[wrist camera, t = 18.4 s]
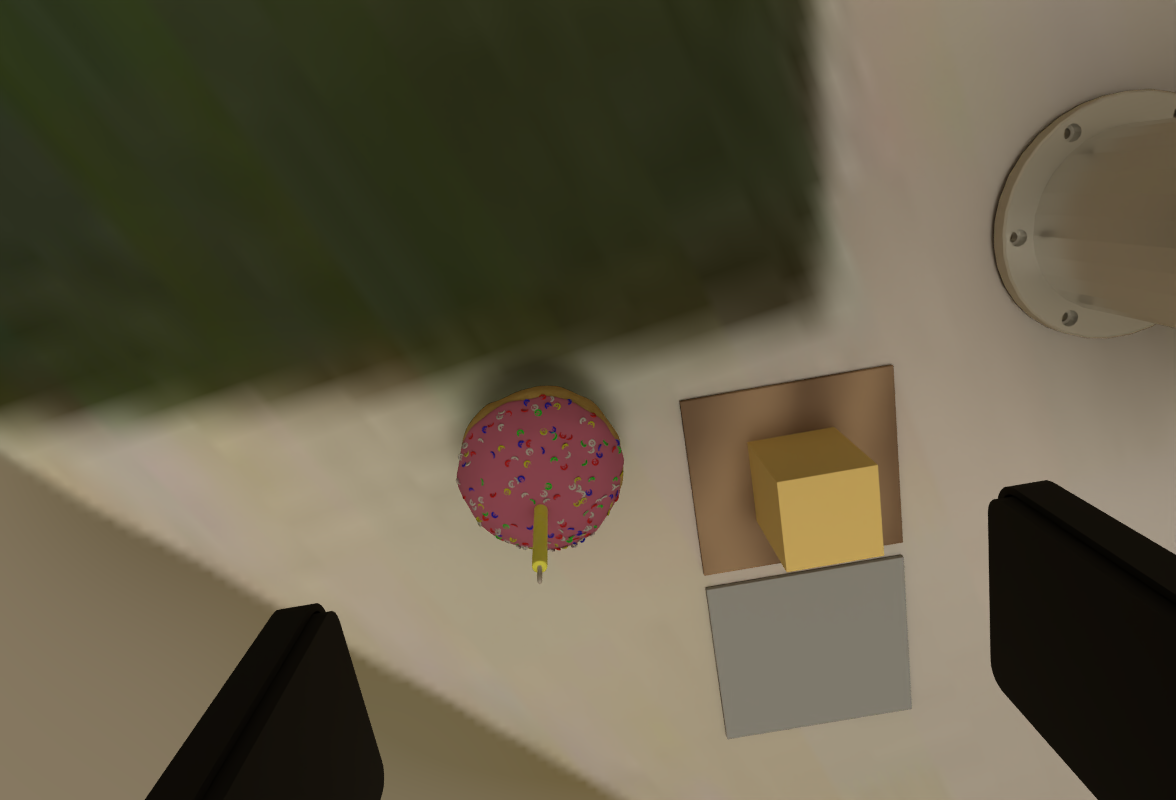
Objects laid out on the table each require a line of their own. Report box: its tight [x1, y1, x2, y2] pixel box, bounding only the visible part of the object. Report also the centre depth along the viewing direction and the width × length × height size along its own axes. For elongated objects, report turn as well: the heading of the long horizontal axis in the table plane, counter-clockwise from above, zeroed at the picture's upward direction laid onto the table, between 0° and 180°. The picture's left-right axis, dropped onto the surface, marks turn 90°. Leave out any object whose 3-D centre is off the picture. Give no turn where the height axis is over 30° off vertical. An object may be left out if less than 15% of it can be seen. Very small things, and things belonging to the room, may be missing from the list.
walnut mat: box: [680, 365, 903, 576], centre depth 42 cm, size 12×11×1 cm
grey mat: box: [706, 555, 912, 739], centre depth 46 cm, size 12×11×1 cm
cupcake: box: [456, 386, 624, 584], centre depth 36 cm, size 9×8×12 cm
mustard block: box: [747, 427, 884, 572], centre depth 39 cm, size 5×5×6 cm
